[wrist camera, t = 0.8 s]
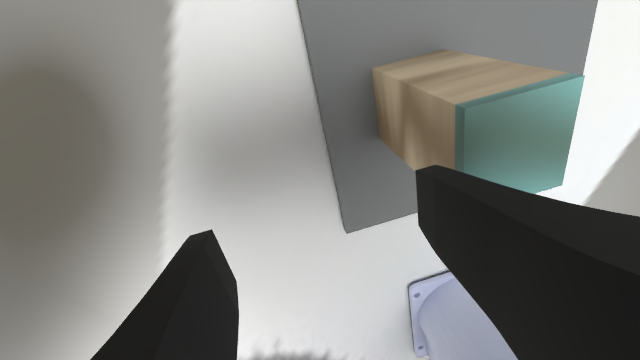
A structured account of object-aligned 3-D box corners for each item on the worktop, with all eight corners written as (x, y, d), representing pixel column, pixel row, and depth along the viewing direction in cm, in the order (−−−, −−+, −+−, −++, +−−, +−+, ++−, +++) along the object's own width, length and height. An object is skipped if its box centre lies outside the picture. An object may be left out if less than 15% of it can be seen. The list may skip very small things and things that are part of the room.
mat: (557, 165, 23) (563, 168, 22) (344, 229, 22) (346, 233, 21) (614, -132, 15) (625, -136, 15) (284, -61, 14) (285, -63, 13)
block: (444, 121, 19) (562, 184, 12) (380, 138, 18) (462, 215, 11) (443, 49, 17) (584, 75, 10) (371, 67, 16) (464, 108, 9)
